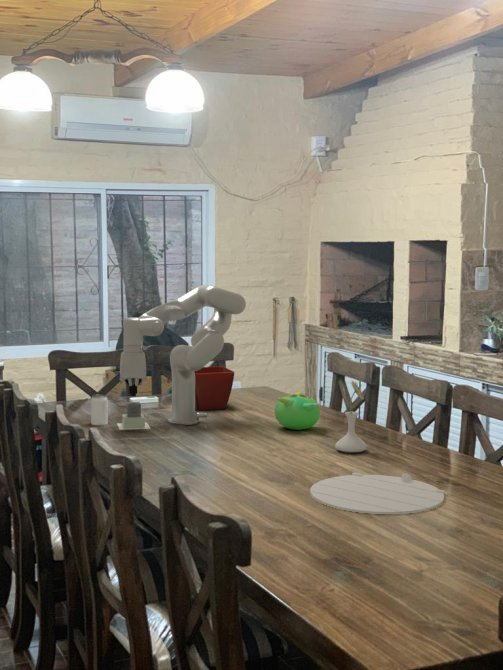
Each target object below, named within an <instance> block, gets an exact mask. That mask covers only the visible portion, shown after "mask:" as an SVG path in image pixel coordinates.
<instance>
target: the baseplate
mask: <svg viewBox="0 0 503 670" xmlns="http://www.w3.org/2000/svg"><path fill="white" fill-rule="evenodd" d="M116 425H117V427H118V430H119V431H123V430H126V431H127V430H150V429H152V428H151V427H150V425H149V423H148V422H146V421H145V428H124V427H123V425H122V422H121V423H119V422H118V423H116Z"/></svg>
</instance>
